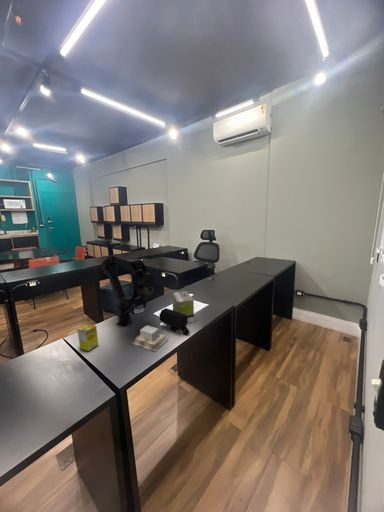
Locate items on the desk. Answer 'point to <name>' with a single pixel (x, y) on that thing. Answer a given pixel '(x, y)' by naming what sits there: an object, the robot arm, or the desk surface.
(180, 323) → the security camera
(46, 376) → the desk surface
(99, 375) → the desk surface
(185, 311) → the tea box
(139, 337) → the stand
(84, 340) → the supplement box
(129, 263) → the robot arm
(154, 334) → the block
